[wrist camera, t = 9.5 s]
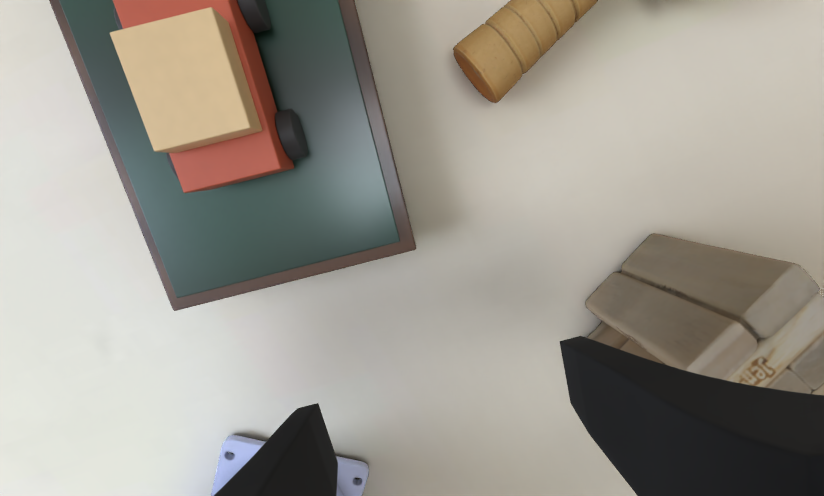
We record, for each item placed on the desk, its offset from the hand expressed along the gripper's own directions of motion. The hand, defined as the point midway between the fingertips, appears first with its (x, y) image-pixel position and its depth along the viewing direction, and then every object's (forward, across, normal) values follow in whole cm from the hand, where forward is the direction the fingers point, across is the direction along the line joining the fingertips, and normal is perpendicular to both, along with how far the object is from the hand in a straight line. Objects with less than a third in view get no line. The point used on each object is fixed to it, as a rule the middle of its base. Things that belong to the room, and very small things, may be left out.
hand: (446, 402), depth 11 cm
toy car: (+6, +5, -11) cm, 14 cm away
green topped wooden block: (+9, +5, -11) cm, 15 cm away
